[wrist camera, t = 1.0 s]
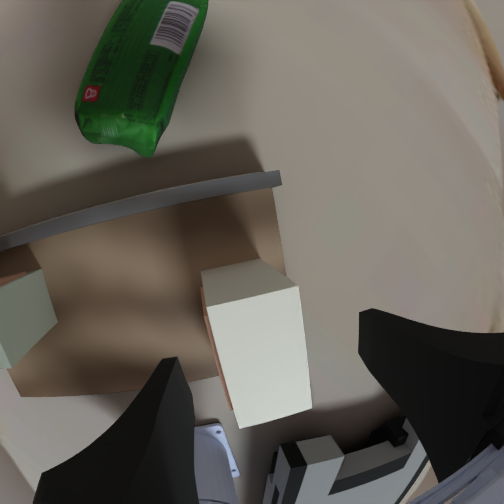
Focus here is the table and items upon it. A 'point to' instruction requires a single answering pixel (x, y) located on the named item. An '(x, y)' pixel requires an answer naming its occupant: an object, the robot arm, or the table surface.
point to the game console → (347, 469)
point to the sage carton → (23, 314)
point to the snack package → (138, 72)
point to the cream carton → (257, 340)
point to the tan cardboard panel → (137, 281)
